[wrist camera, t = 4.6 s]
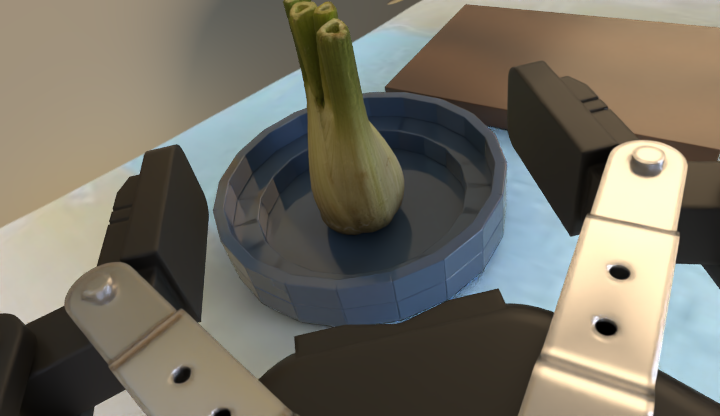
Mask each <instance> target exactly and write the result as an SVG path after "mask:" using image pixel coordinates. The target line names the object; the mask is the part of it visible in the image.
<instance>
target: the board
mask: <svg viewBox="0 0 720 416" xmlns="http://www.w3.org/2000/svg"><path fill="white" fill-rule="evenodd" d="M541 60H543V61H545V62H546V63H547V64H548V65H549V67H550V68H551V69H552V70H553V71H554V72H555V73H556V74H557V75H558V77H559V78H560V77H565V76H570V77H572V78H574V79H576V80H579V81H581V82H583V83H585V84H587V85H588V86H589V87H590V88H591V89H592V90H593V91H594V92H595V93H596V94H597V95H598V96H599V99H601V100H602V101H603V102H604V103H605V104H606V105H607V106H608V109H611V110H612V111H613V112H614V113H615V114H616V115H617V116H618V117H619V118H620V119H621V120H622V121H623V122H624V123H625V125H626V126H627V127H628V128H629V129H630V130H631V131H632V132H633V133H634V134H635V135H636V136H637V137H638V138H639V139H640V140H650V141H656V142H661V143H664V144H667V145H669V146H671V147H673V148H675V149H677V150H678V151H679V152H681V153H682V155H683V156H684V157H685V159H686V160H687V161H717V160H718V157H719V154H720V28H717V27H706V26H695V25H684V24H673V23H663V22H652V21H641V20H630V19H619V18H608V17H597V16H586V15H576V14H565V13H554V12H543V11H532V10H521V9H510V8H499V7H489V6H478V5H467V4H466V5H464V6H463V8H462V9H461V10H460V11H459V12H458V13H457V14H456V15H455V16H454V17H453V18H452V19H451V20H450V21H449V22H448V23H447V24H446V25H445V26H444V27H443V28H442V29H441V30H440V31H439V32H438V33H437V34H436V35H435V36H434V37H433V38H432V39H431V40H430V41H429V42H428V43H427V44H426V45H425V46H424V47H423V48H422V49H421V50H420V52H419V53H418V54H417V55H416V56H415V57H414V58H413V59H412V60H411V61H410V62H409V63H408V64H407V65H406V66H405V67H404V68H403V69H402V70H401V71H400V72H399V73H398V74H397V75H396V76H395V77H394V78H393V79H392V80H391V81H390V82H389V83H388V84H387V85H386V86H385V91H386V92H406V93H407V92H408V93H413V94H418V95H423V96H429V97H434V98H439V99H443V100H445V101H447V102H449V103H452V104H454V105H456V106H458V107H460V108H463V109H465V110H467V111H469V112H471V113H473V114H474V115H475V116H476V117H477V118H478V119H480V120H481V121H482V122H483V123H484V124H485V125H487V126H492V127H497V128H501V129H506V130H508V128H507V101H508V73H509V70H510V68H512V67H515V66H519V65H524V64H528V63H532V62H537V61H541Z"/></svg>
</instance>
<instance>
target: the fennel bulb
mask: <svg viewBox="0 0 720 416" xmlns="http://www.w3.org/2000/svg"><path fill="white" fill-rule="evenodd" d="M283 3H284V6H285V11H286V14H287V18H288V20H289V25H290V29H291V32H292V35H293V39H294V42H295V47H296V51H297V55H298V59H299V63H300V67H301V71H302V76H303V81H304V87H305V92H306V98H307V112H308V114H307V118H308V152H309V155H308V157H309V172H310V180H311V189H312V192H313V196H314V200H315V202H316V204H317V206H318V209H319V210H320V214H321V217H322V220H323V222H324V223H325V224H326V225H327V226H328V227H329V228H331V229H332V230H334V231H336V232H338V233H341V234H346V235H359V234H361V233H370V232H375V231H377V230H379V229H382V228H383V227H385V226H387V225H389V223H390V222H391V220H392V219H393V217H394V215H395V214H396V212H397V211H398V209H399V207H400V205H401V203H402V199H403V196H404V176H403V172H402V169H401V166H400V164H399V162H398V160H397V158H396V156H395V154H394V153H393V151H392V150H391V148H390V147H389V145H388V144H387V143H386V141H385V139H384V138H383V137H382V136H381V135H380V133H379V132H378V131H377V129H376V128H375V127H374V126H373V125H372V124H371V122H369V120H368V117H367V113H366V109H365V105H364V102H363V95H362V91H361V86H360V81H359V77H358V72H357V67H356V62H355V56H354V51H353V46H352V41H351V37H350V32H349V30H348V27H347V26H346V25H345V24H344V22H342V21H341V20H339V19H338V14H337V10H336V8H335V6H334V5H333V4H332V2H325V3H323V4H322V5H320V6H319V7H317V6H316V4H315V3H314V2H311V0H284V1H283Z"/></svg>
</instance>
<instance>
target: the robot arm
mask: <svg viewBox="0 0 720 416" xmlns="http://www.w3.org/2000/svg"><path fill="white" fill-rule="evenodd" d="M507 128H508V134H509V138H510V141H511V143H512V146H513V147H514V149H515V151H516V152H517V154H518V155H519V157H520V158H521V160H522V162H523V163H524V165H525V166H526V168H527V169H528V171H529V172H530V174H531V176H532V177H533V179H534V180H535V182H536V183H537V185H538V187H539V188H540V190H541V191H542V193H543V194H544V196H545V197H546V199H547V201H548V202H549V204H550V205H551V207H552V208H553V210H554V212H555V213H556V215H557V216H558V218H559V219H560V221H561V222H562V224H563V226H564V227H565V229H566V230H567V232H568V233H569V235H570V237H571V236H575V235H579V239H578V242H577V245H576V248H575V251H574V254H573V257H572V260H571V263H570V266H569V269H568V272H567V275H566V278H565V281H564V285H563V288H562V291H561V294H560V297H559V300H558V303H557V306H556V309H555V312H552V311H549V310H545V309H542V308H539V307H534V306H529V305H523V304H505V302H504V299H503V297H502V295H501V293H500V291H499V289H494V290H490V291H486V292H482V293H477V294H473V295H469V296H464V297H460V298H456V299H452V300H448V301H446V302H444V303H442V304H440V305H438V306H436V307H434V308H432V309H429V310H427V311H425V312H423V313H421V314H419V315H417V316H415V317H413V318H411V319H409V320H407V321H405V322H402V323H399V324H357V325H341V326H337V327H332V328H328V329H324V330H319V331H315V332H311V333H307V334H302V335H298V336H294V339H295V351H296V353H294V354H292V355H290V356H288V357H286V358H285V359H283V360H281V361H280V362H278V363H277V364H276V365H274V366H273V367H272V368H270V369H269V370H268V371H267V372H266V373H265V374H264V375H263V376H262V377H261V378H260V379H257V378H255V377H254V376H253V375H252V374H251V373H250V372H249V371H248V370H247V369H246V368H245V367H244V366H243V365H242V364H241V363H240V362H239V361H237V360H236V359H235V358H234V357H233V356H232V355H231V354H230V353H229V352H228V351H227V350H226V349H225V348H224V347H223V346H222V345H221V344H220V343H218V342H217V341H216V340H215V339H214V338H213V337H212V336H211V335H210V334H209V333H208V332H207V331H206V330H205V329H204V328H203V327H202V326H200V325H199V324H198V322H201V313H202V300H203V287H204V273H205V260H206V247H207V234H208V221H209V212H208V206H207V201H206V198H205V195H204V193H203V191H202V188H201V186H200V184H199V182H198V180H197V178H196V176H195V174H194V172H193V170H192V168H191V166H190V164H189V162H188V160H187V158H186V156H185V154H184V152H183V150H182V148H181V147H180V146H179V145H177V144H176V145H172V146H167V147H163V148H159V149H155V150H150V151H147V152H145V154H144V158H143V162H142V166H141V170H140V175H135V176H131V177H129V178H128V180H127V181H126V182H125V183H124V185H123V186H122V187H121V189H120V190H119V191H118V192H117V195H116V199H115V202H114V206H113V212H112V213H111V217H110V220H109V222H110V225H108V228H107V231H106V235H105V238H104V242H103V246H102V249H101V253H100V256H99V260H98V264H97V267H95V268H93V269H91V270H90V271H88V272H86V273H85V274H84V275H82V276H81V277H80V278H79V279H78V280H77V281H76V282H75V283H74V284H73V285H72V286H71V288H70V289H69V291H68V293H67V295H66V298H65V304H64V306H63V307H61V308H59V309H57V310H55V311H53V312H51V313H49V314H47V315H45V316H43V317H41V318H38V319H36V320H34V321H32V322H30V323H28V324H26V325H25V324H24V323H23V322H22V321H21V320H20V319H19V318H18V317H16V316H15V315H12V314H7V313H3V314H0V416H93V413H94V407H95V406H96V405H98V404H100V403H101V402H103V401H105V400H107V399H109V398H111V397H113V396H114V395H116V394H118V393H120V392H122V391H124V390H127V392H128V393H129V394H130V395H131V397H132V398H133V399H134V400H135V402H136V403H137V404H138V405H139V407H140V408H141V409H142V410H143V412H144V413H145V414H146V415H147V416H720V404H719V403H718V402H716V401H714V400H712V399H710V398H709V397H707V396H705V395H703V394H701V393H700V392H698V391H696V390H694V389H693V388H691V387H689V386H687V385H685V384H684V383H682V382H680V381H678V380H676V379H675V378H673V377H671V376H669V375H668V374H666V373H664V372H662V371H660V370H659V369H658V364H659V358H660V352H661V346H662V340H663V334H664V328H665V322H666V316H667V310H668V304H669V298H670V292H671V286H672V280H673V274H674V268H675V264H701V265H702V266H703V267H704V269H705V270H706V271H707V273H708V274H709V275H710V277H711V278H712V279H713V281H714V282H715V283H716V285H717V286H718V287H719V289H720V161H687V160H686V159H685V157H684V156H683V155H682V153H681V152H679V151H678V150H677V149H675V148H673V147H671V146H669V145H667V144H664V143H661V142H656V141H650V140H640V139H639V138H638V137H637V136H636V135H635V134H634V133H633V132H632V131H631V130H630V129H629V128H628V127H627V126H626V125H625V123H624V122H623V121H622V120H621V119H620V118H619V117H618V116H617V115H616V114H615V113H614V112H613V111H612V110H611V109H608V106H607V105H606V104H605V103H604V102H603V101H602V100H601V99H599V96H598V95H597V94H596V93H595V92H594V91H593V90H592V89H591V88H590V87H589V86H588V85H587V84H585V83H583V82H581V81H579V80H576V79H574V78H572V77H570V76H565V77H560V78H559V77H558V75H557V74H556V73H555V72H554V71H553V70H552V69H551V68H550V67H549V65H548V64H547V63H546V62H545V61H543V60H541V61H537V62H532V63H528V64H524V65H519V66H515V67H512V68H510V70H509V73H508V101H507Z"/></svg>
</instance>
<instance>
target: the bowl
mask: <svg viewBox="0 0 720 416" xmlns="http://www.w3.org/2000/svg"><path fill="white" fill-rule="evenodd" d="M362 95H363V102H364V105H365V109H366V113H367V117H368V120H369V122H371V124H372V125H373V126H374V127H375V128H376V129H377V131H378V132H379V133H380V135H381V136H382V137H383V138H384V139H385V141H386V143H387V144H388V145H389V147H390V148H391V150H392V151H393V153H394V154H395V156H396V158H397V160H398V162H399V164H400V166H401V169H402V172H403V176H404V196H403V199H402V203H401V205H400V207H399V209H398V211H397V212H396V214H395V215H394V217H393V219H392V220H391V222H390V223H389V225H387V226H385V227H383V228H382V229H379V230H377V231H375V232H370V233H361V234H359V235H346V234H341V233H338V232H336V231H334V230H332V229H331V228H329V227H328V226H327V225H326V224H325V223H324V222H323V220H322V217H321V214H320V210H319V209H318V206H317V204H316V202H315V200H314V196H313V192H312V189H311V180H310V172H309V157H308V155H309V152H308V118H307V114H308V112H307V108H305V109H302V110H300V111H297V112H294V113H293V114H291V115H289V116H287V117H286V118H284V119H282V120H280V121H279V122H277V123H275V124H273V125H272V126H270V127H268V128H266V129H265V130H264V131H262V132H261V133H260V134H259V135H257V136H256V137H255V138H254V139H253V140H252V141H251V142H250V143H248V144H247V145H246V146H245V147H244V148H243V149H242V150H241V151H239V152H238V153H237V155H236V156H235V158H234V159H233V161H232V162H231V164H230V165H229V167H228V169H227V170H226V172H225V173H224V175H223V176H222V178H221V179H220V182H219V185H218V190H217V194H216V199H215V204H214V209H213V214H214V218H215V222H216V225H217V229H218V233H219V237H220V240H221V242H222V244H223V246H224V248H225V250H226V252H227V254H228V256H229V258H230V260H231V262H232V264H233V266H234V268H235V270H236V272H237V274H238V276H239V278H240V279H241V280H242V281H243V282H244V283H245V285H246V286H247V287H248V288H249V289H250V290H251V291H252V292H253V294H254V295H255V296H256V297H257V298H258V299H259V300H260V301H261V303H263V304H264V305H266V306H268V307H271V308H273V309H275V310H277V311H279V312H281V313H283V314H285V315H287V316H289V317H291V318H293V319H295V320H297V321H301V322H304V323H312V324H319V325H327V326H335V327H337V326H341V325H357V324H380V323H387V322H394V321H399V320H400V319H401V320H403V319H405V318H407V317H410V316H412V315H414V314H417V313H419V312H421V311H423V310H426V309H428V308H430V307H433V306H435V305H437V304H440V303H442V302H444V301H446V300H449V299H450V298H451V297H452V296H453V295H455V294H456V293H457V292H458V291H459V290H461V289H462V288H463V287H464V286H465V285H467V284H468V283H469V282H470V281H471V280H472V279H474V278H475V277H476V276H477V275H478V274H480V273H481V272H482V271H483V270H484V268H485V266H486V265H487V263H488V261H489V260H490V258H491V256H492V254H493V253H494V251H495V249H496V248H497V246H498V244H499V242H500V241H501V239H502V237H503V231H504V222H505V212H506V195H507V161H506V159H505V157H504V154H503V152H502V149H501V147H500V144H499V142H498V139H497V137H496V135H495V133H493V132H492V131H491V130H490V129H489V128H488V127H487V126H486V125H485V124H484V123H483V122H482V121H481V120H480V119H478V118H477V117H476V116H475V115H474V114H473V113H471V112H469V111H467V110H465V109H463V108H460V107H458V106H456V105H454V104H452V103H449V102H447V101H445V100H443V99H439V98H434V97H429V96H423V95H418V94H413V93H408V92H407V93H406V92H369V93H363V94H362Z"/></svg>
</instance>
